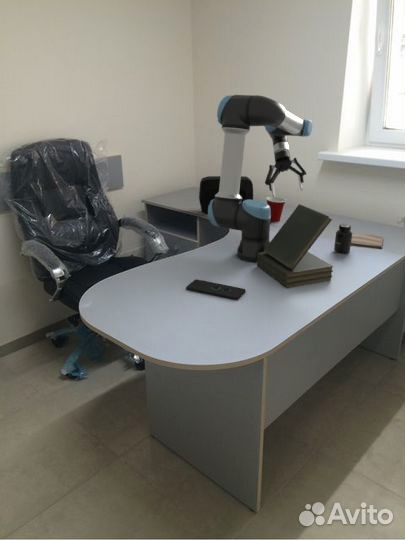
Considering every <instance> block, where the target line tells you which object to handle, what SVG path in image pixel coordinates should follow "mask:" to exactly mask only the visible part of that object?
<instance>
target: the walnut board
mask: <svg viewBox="0 0 405 540" xmlns="http://www.w3.org/2000/svg"><path fill="white" fill-rule="evenodd" d="M383 240H384V236H383V235H377V234H369V233H368V234H367V233H359V232H358V233H357V232H352V240H351V246H354V247H355V246H356V247H364V248H373V249H374V248H375V249H382V248H383Z"/></svg>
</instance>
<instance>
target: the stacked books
mask: <svg viewBox="0 0 405 540" xmlns="http://www.w3.org/2000/svg"><path fill="white" fill-rule="evenodd" d="M332 220H333V219H332V218H330V216H329V215H327V214H324V213H321V212H319V211H317V210H314V209H312V208H309V207H307V206H305V205H303V204H299V203H298V205H297V206H296V207H295V209H294V210H293V211H292V213H291V214H290V216H288V218H287V219H286V220H285V222H284V224H283V225H282V226H281V228H280V229H279V230H278V231H277V233H276V234H275V235H274V236H273V238H272V239H271V241H270V243H269V244H268V246H267V247H266V248H265V250H264V251H265V252H260V253H258V254H257V257H258V258H257V262H256V267H257V268H258V269H259V270H261V271H262V272H264V273H265V274H266V275H268V276H269V277H270V278H272V279H273V280H274V281H275V282H277V284H279V285H281V286H282V287H283V288H285V290H287V289H290V288H295V287H296V288H297V287H302V286H306V285H308V286H309V285H312V284H319V283H324V282H325V283H326V282H330V281H332V278H333V275H332V273H333V268H334V265H332V264H331V263H329V262H327V261H325V260H324V259H321V258H320V257H318V256H316V255H315V254H312V253H311V252H309V251H310V249H311V247H312V246H313V245H314V244H315V243H316V241H317V240H318V238H320V236H321V235H322V233H323V232H324V230H326V228H327V227H328V226H329V224H330V223H331V222H332Z"/></svg>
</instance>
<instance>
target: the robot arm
mask: <svg viewBox="0 0 405 540" xmlns="http://www.w3.org/2000/svg"><path fill="white" fill-rule="evenodd" d="M216 112H217V114H216V117H217V121H218V123H219V125H221V130H222V131H223V133H224V138H223V149H222V157H221V167H220V186H219V192H218V193H217V194H216V195H215V199H213V200H211V202H210V205H209V207H208V215H207V216H208V220H209V221H210V223H211V225H212V226H214V227H217V228H220V229H223V228H224V229H228V230H229V229H230V230H235V231H239V232H240V231H241V238H240V240H239V241H240V242H239V244H238V246H237V249H236V256H237V258H238V259H240V260H242V261H244V262H249V263H258V262H257V258H258V257H257V254H258V253H260V252H265V251H264V250H265V248H266V247H267V246H268V244H269V243H270V242H271V241H270V233H271V232H270V230H271V221H270V218H271V210H270V206H269V205H268V204H267V202H264V201H261V200H258V199H253V200H245V201H243V203H242V197H241V196H240V194H239V189H240V180H241V176H242V169H243V160H244V150H245V142H246V136H247V135H248V133H249V132H250V130H251V127H263V128H264V129H265V131H266V132H267V134H268V135H269V137H270V138H271V140H272V141H271V142H272V148H273V155H274V163H275V164H273V165H272V164H269V169H268V172H267V175H266V177H265V181H264V184H265V185H266V186H268V188H269V191H270V192H271V195H272V196H271V197H276V190H275V185H274V183H275V181H276V179H277V177H278V176H279V175H280V174H281V173H283V172H288V171H289V170H290V171H292V172H293V173H294V174H296V175H297V178H298V185H299V189H300V191H303V190H304V189H303V183H304V182H305V181H304V176H305V175H307V172H306V170H305V168H303V166H301V164H300V163H299V161H298V159H297V158H296V157H294V158H293V159H291V154H290V147H289V142H288V141H289V140H288V136H290V137H291V136H292V137H302V138H303V137H309V136H310V135H311V133H312V131H313V122H312V120H311V119H306V118H305V119H301V118H300V117H298V116H297V115H295V114H293V113H292V112H290V111H288V110H286V108H285V106H284V105H283V104H282V103H280V102H279V101H276V100H275V99H272V98H270V97H267V96H265V95H264V96H263V95H259V94H258V95H257V94H255V95H251V94H250V95H249V94H248V95H247V94H233V95H226V96H224V97H223V98H222V99H221V100H220V102H219V105H218V108H217V111H216ZM292 164H295V165H296V167H297V168H298V169H299V170H298V169H297V168H295V167H293V166H292Z"/></svg>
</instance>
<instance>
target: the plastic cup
mask: <svg viewBox="0 0 405 540" xmlns="http://www.w3.org/2000/svg"><path fill="white" fill-rule="evenodd" d="M265 200H266V203H267V204H268V205H269V206H270V210H271V218H270V222H273V223H275V222H276V223H277V222H280V220H281V217H282V213H283V209H284V205H285V204H286V202H287V199H285V198H283V197H278V196H275V197H273V196H268V197H265Z"/></svg>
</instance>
